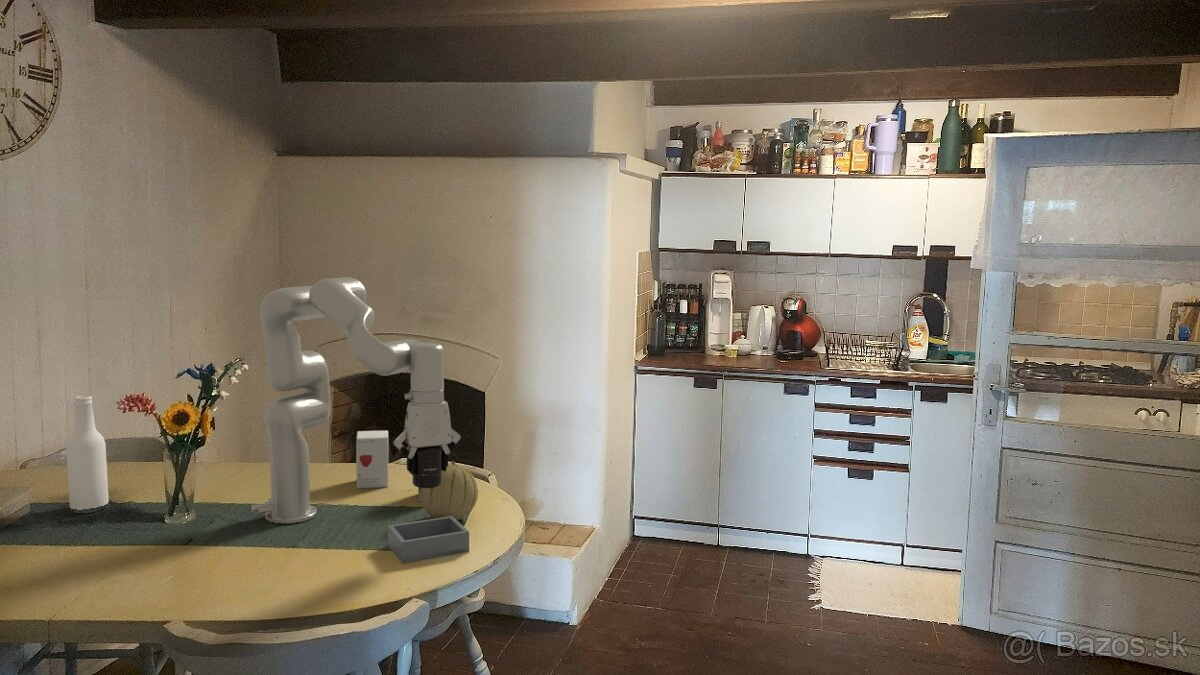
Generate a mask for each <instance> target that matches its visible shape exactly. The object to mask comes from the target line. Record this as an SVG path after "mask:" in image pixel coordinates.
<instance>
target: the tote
mask: <svg viewBox="0 0 1200 675" xmlns="http://www.w3.org/2000/svg"><path fill="white" fill-rule="evenodd" d="M387 547H388V548H389V549H390V550H391V552H393V554H394V555H395V556H396V557H397V559H398V561H400V563H401V564H407V563H414V562H421V561H426V560H432V559H437V558H443V557H449V556H454V555H460V554H465V553H466V554H467V553H470V531H469V530H468V529H467V528H466V527H465V526H464V525H463V524H462V523H461V522H460V521H459V520H456V519H455V518H454V517H453V516H449V517H442V518H430V519H423V520H415V521H410V522H409V521H408V522H403V523H397V524H392V525H391V524H389V525H387Z"/></svg>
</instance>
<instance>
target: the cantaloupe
mask: <svg viewBox="0 0 1200 675" xmlns="http://www.w3.org/2000/svg"><path fill="white" fill-rule="evenodd" d="M450 462H451V464H448V466H446V471H443V470H442V483H441V485H440V486H438V487H434V488H420V499H421V501H420V503H421V506H422V507H423V509H424V511H425V512H426V514H428V516H430V517H431V519H435V518H442V517H449V516H453V517H454V518H455V519H456V520H457V521H459V520H461V519H464V518H465V517H467V516H468V515H469V514H470V513H471V512H472V511H473V510H474V507H475V506H476V503H477V500H478V497H479V488H478V484H477V480H476V479H475V476H474V475H473V473H471V472H470V470H467V469H466V468H464V467H461V466H459V465H457V464H456V462H455V461H453V460H451V461H450Z"/></svg>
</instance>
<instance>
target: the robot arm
mask: <svg viewBox="0 0 1200 675" xmlns="http://www.w3.org/2000/svg"><path fill="white" fill-rule="evenodd" d="M366 290H367V289H366V288H365V286H364V285H363V284H362V282H361V281H360V280H358V279H357V278H354V277H352V276H351V277H350V276H348V277H347V276H346V277H331V278H322V279H320V280H318V281H316V282H315V283H314V284H313V285H305V286H303V285H302V286H290V287H288V286H287V287H282V288H277V289H275V290H273V291H270V292H269V293H268V294H266V295H265V296H264V298H262V301H261V304H260V306H259V320H260V324H261V328H262V331H263V336H264V343H265V345H264V347H265V359H266V362H265V363H266V371H267V379H268V384H269V386H270V388H271V389H273V390H274V391H276V392H282V393H283V392H290V391H291V392H292V391H296V390H300V393H296V394H291V395H287V396H282V397H279V398H276V399H274V400H272V401H271V402H270V403H268V405H267V406H266V407H265V409H264V415H263V418H264V419H263V420H264V425H265V428H266V433H267V438H268V446H269V468H270V469H269V471H270V473H269V474H270V475H269V476H270V498H268V501H267V502H264V503H263V504H262V503H261V504H259V503H258V504H252V505H251V511H252V512H251V513H258V515H260V514H264V517H265V520H266V521H267V520H268V521H267V522H269V521H270V522H269V523H272V522H273V524H279V523H281V525H286V524H287V525H288V524H298V523H302V522H306V521H309V520H311V519H313V518H314V517H316V516H317V512H318V511H317V508H316V507H315V506H313V505H311V487H310V485H311V483H310V482H311V481H310V477H311V476H310V450H309V445H308V442H307V441H306V439H305V437H304V436H303V434H302V432H303V431H305V430H306V431H307V430H309V429H313V428H317V427H319V426H323V425H324V424H325V423H327V421H328V420H329V418H330V415H331V410H332V407H331V406H332V404H331V402H332V400H331V386H330V374H329V367H328V363H327V361H326V359H325V358H324V356H322V355H321V353H319V352H317V351H315V350H309V349H308V350H303V351H302V345H301V341H302V340H301V336H300V333H299V331H298V329H297V328H296V326H295V325H294V324H293V322H297V321H298V322H299V321H307V320H315V319H324V318H327V319H328V321H330V322H331V323H332V324H334V325H335V326H336V327H337V328H339V329H340V330H341V331H342V332H343V333H344V334H346V336H347V337H346V339H347V343H348V347H349V349H350V352H351V354H352V355H353V357H354V358H355V359H356V360H357V361H358V362H360V363H361V364H362V365H363V366H364V367H365V368H366V369H367V370H369V371H370V372H372V373H375V375H379V376H382V377H383V376H385V377H386V376H390V375H391V376H392V375H395V374H396V375H397V374H400V373H406V372H410V389H409V392H408V393H404V399H405V400H409V402H408V403H407V408H406V414H405V421H404V430H403V431H402V432H401V433H400V434H399V435H398V436H397V437H396V438H395V439H394V440H393V441H392V443H393V445H394V446H395V447H396V448H397V449H398V450H399V451H400V452H401V453H403V455H405V456H406V470H407V471H408V473H409V474H410V475H411V476H413V475H415V474H416V459H415V458H414V454H415V452H416V450H417V448H422V447H431V446H441V448H442V452H443V454H442V470H443V471H446V466H448V465H449V455H450V453H451V451H452V450H453V449H454V448H455V447H456V444H457V443H458V442H459V441H460V440H461V438H462V436H461V435H460V434H459V432H457V431H455V430H454V429H453V428H452V423H451V422H452V421H451V414H450V409H449V404H448V401H446V400H445V392H444V391H445V390H444V389H445V351H444V347H443V345H441V344H439V343H434V342H422V341H419V340H416V339H411V338H406V339H404V338H403V339H400V340H391V341H386V342H382V341H381V340H379V339H378V338H377V337H376V336H374V335H373V334H372V333H371V332H370V331H369V330H370V329H371V327H372V326H373V323H374V321H375V311H374V310H373V309H372V307H371V306H369V305H368V304H366V301H367V291H366ZM403 442H405V443H406V444H407V447H405V446H404V445H403ZM297 522H298V523H297Z"/></svg>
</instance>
